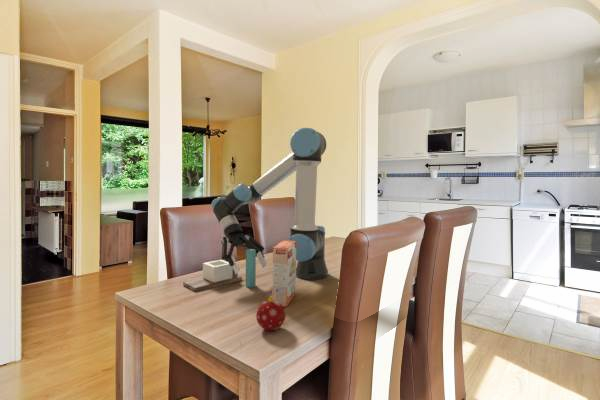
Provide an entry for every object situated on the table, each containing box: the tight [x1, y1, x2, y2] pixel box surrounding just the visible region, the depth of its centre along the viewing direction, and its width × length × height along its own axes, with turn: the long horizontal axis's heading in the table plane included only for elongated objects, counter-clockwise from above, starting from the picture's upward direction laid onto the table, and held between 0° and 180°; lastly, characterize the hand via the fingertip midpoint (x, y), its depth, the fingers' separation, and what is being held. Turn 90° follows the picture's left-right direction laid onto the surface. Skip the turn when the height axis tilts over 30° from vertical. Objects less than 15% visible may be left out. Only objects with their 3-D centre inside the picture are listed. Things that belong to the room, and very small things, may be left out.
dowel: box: [245, 248, 257, 289], centre depth 140 cm, size 4×4×15 cm
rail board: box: [182, 270, 243, 293], centre depth 144 cm, size 10×22×6 cm, turn 134°
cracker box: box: [271, 240, 297, 308], centre depth 125 cm, size 14×6×21 cm, turn 168°
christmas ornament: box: [255, 295, 286, 331], centre depth 102 cm, size 9×9×10 cm
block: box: [202, 259, 233, 282], centre depth 146 cm, size 9×9×6 cm
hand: (251, 268), depth 140 cm, fingers open, 13 cm apart
